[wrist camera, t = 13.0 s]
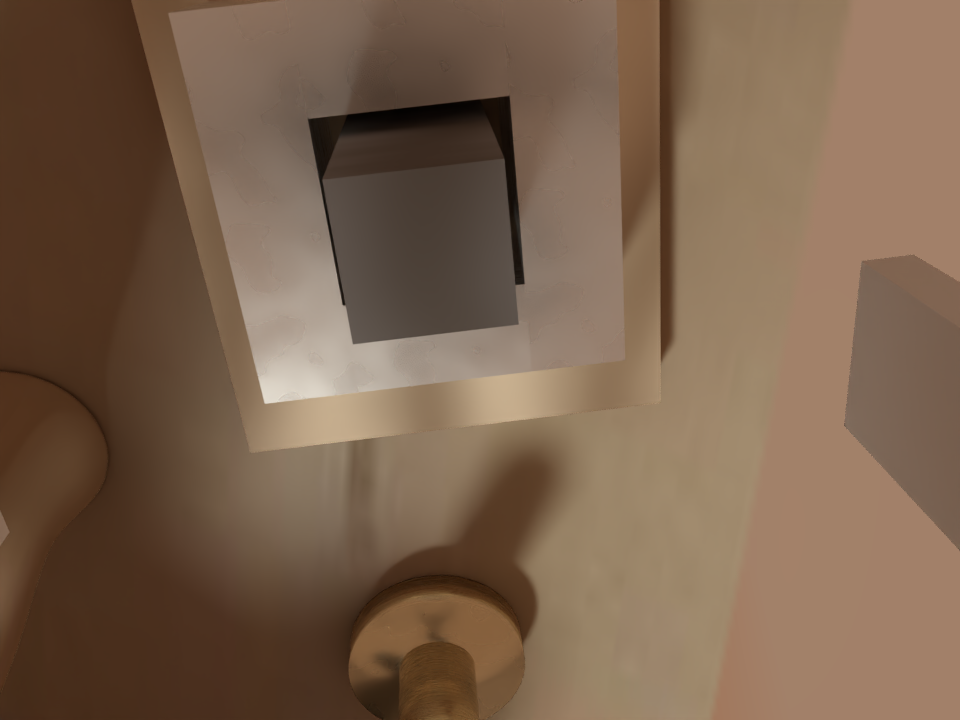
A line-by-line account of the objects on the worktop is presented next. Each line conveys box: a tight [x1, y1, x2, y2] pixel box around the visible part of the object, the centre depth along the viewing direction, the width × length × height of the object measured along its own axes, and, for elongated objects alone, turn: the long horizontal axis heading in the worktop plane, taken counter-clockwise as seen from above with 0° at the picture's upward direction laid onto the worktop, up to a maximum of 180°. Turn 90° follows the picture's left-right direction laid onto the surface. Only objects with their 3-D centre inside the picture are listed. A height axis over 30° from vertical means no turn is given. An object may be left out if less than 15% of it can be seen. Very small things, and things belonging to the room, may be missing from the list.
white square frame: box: [168, 0, 625, 404], centre depth 23 cm, size 10×10×4 cm
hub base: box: [131, 0, 661, 453], centre depth 22 cm, size 14×18×10 cm
